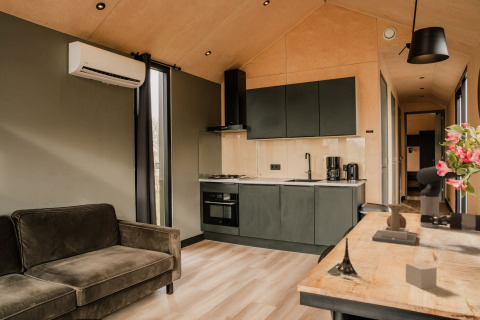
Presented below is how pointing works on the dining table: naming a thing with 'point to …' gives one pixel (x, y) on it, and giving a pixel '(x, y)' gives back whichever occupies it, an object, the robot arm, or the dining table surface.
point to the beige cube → (421, 275)
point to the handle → (395, 216)
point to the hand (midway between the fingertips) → (420, 218)
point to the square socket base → (395, 236)
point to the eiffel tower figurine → (343, 265)
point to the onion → (402, 221)
